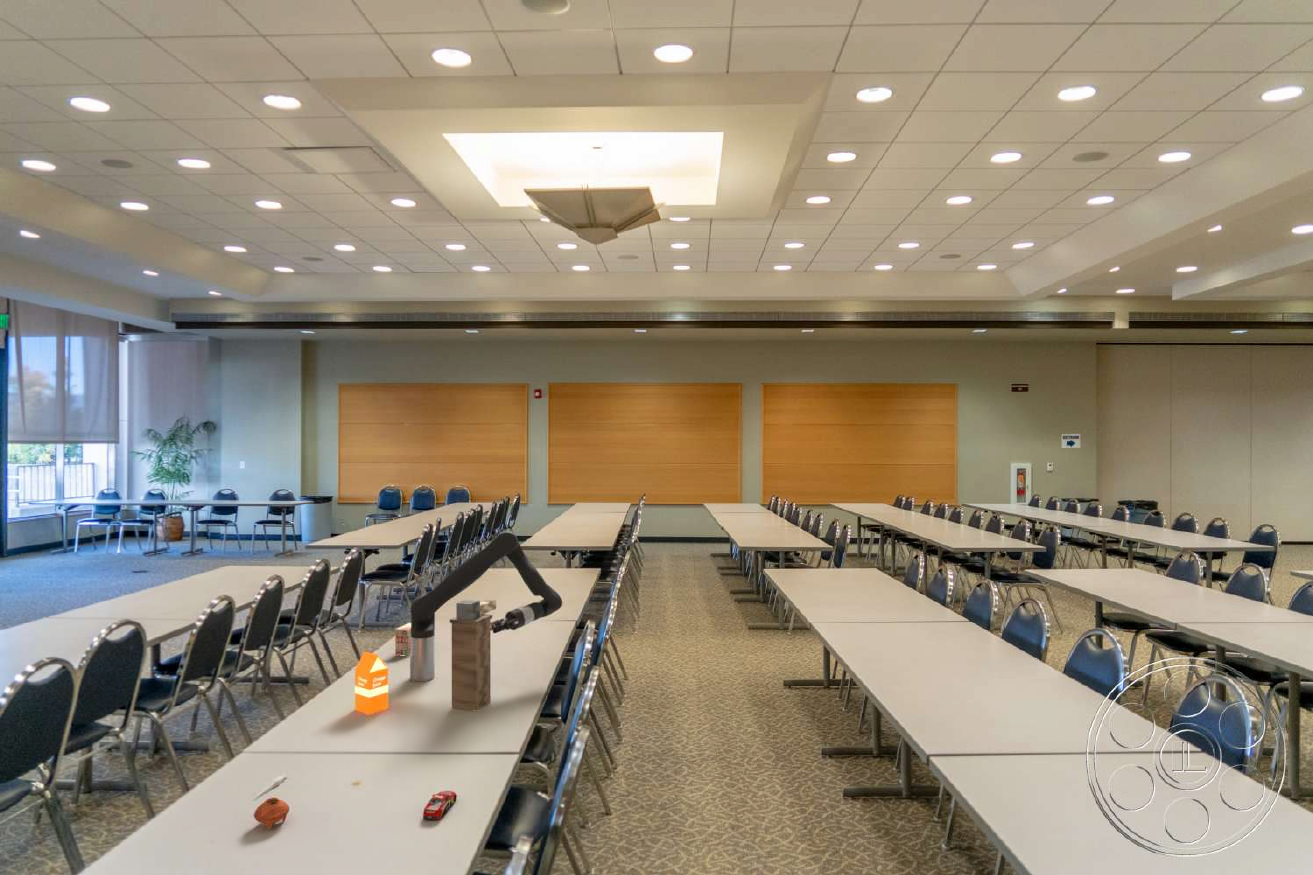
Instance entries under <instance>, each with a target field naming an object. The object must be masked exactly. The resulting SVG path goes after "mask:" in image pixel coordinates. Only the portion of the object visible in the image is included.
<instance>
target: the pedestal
mask: <svg viewBox="0 0 1313 875" xmlns="http://www.w3.org/2000/svg"><path fill="white" fill-rule="evenodd" d="M492 619H493V614H487V613H485V614H483V615H480V617H479V618H477V619H474V620H472V621H467V620H456V616H455V617H453V618H450V619H449V623H450V624H451V709H454V710H462V711H470V710H475V711H474V712H477V711H479V710H481V709H482V708H484V707H485V706H487V705H488V704H490V703H491V702H492V701H491V696H492V695H491V694H492V693H491V684H492V683H491V631H490V627H491V626H490V623H491V620H492ZM487 703H488V704H487ZM486 704H487V705H486ZM483 706H484V707H483Z"/></svg>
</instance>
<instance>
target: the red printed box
mask: <svg viewBox="0 0 1313 875" xmlns="http://www.w3.org/2000/svg"><path fill="white" fill-rule="evenodd" d="M394 639H395V650H394V651H395V655H405V656H404V657H407V656H408V657H410V656H411V655H410V654H411V622H407V623H406V624H403V625H402V626H399V627H397V628H395V638H394ZM409 655H410V656H409Z"/></svg>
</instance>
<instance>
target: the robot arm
mask: <svg viewBox="0 0 1313 875" xmlns="http://www.w3.org/2000/svg"><path fill="white" fill-rule="evenodd" d="M504 557H506V558H508V560H509V561H510V562H511V563H512V565H513V566H514V567H515V569H516V570H517V572H518V573H519V575H520V577H521V579H522V582H524V584H525V585H526V586H527V588H528V590H529V591H530V592H531V593H532V595H533V596H535V597H538V596H540V597H541V598H543V599H541V600H539V601H534V602H531V603H527V604H526V605H522V606H518V607H517V608H514V609H512V610H510V611H506V613H505V616H504V618H500V619H496V620H494V621H490V632H491V631H492V633H493V634H497V633H500V632H502V631H509V630H511V631H516V630H518V629H520V628H522V627H525V626H526V625H529V624H530V623H532V622H535V621H537V620H539V619H541V618H544V617H549V616H551V615H552V614H553V613H555V612H557V611H559V610H560V609H561V608H562V607H563V599H562V597H561V596H560V594H559V593H558V592H557V591H556V590H555V589H553V588H552V587H551V586H550V585H549V584H547V582H546V581H545V579H544V578H543V576H542V575H541V574H540V572H539V571H538V570H537V569H536V567H535V566H534V565H533V563H532V562H531V561H530V560H529V558H528V556H527V555H526V554H525V552H524V550H523V548H522V546H521V544H520V542H519V538H518V536H517V535H516V534H515V533H513V532H511V531H507V530H506V531H503V532H501V533H499V534H498V535H497V536H496V537H495V538H494V539H493V540H492V541H491V542H490V543H488V545H486V546H485V547H484V548H483V549H482V550H480V551H479V552H477V553H475V554H474V555H472V556H471V557H468V558H467V559H466V560H464V561H463V562H461V563H460V564H459V565H458V566H457V567H454V569H453V570H451V572H450V573H449V574H447V576H445V577H444V579H443V580H441V581H440V583H439V584H438V585H437V586H436V587H434V589H432V590H430V591H429V592H428V593H426V594H420V595H418V596H416V597H415V598H414V599H413V600H412V601H411V604H410V608H409V610H410V618H411V620H410V621H411V622H410V623H411V655H410V656H409V657H410V658H409V664H410V665H409V679H410V682H412V681H414V682H425V681H427V682H428V681H431V680H433V679H434V678H435V677H436V676H435V674H436V671H435V669H436V668H435V664H436V663H435V661H436V660H435V649H436V648H435V638H436V637H435V633H436V632H435V630H436V629H435V627H436V626H435V624H436V623H435V622H436V621H435V620H436V612H438V610H439V609H440V608H441V607H442V606H444V604H446V603H447V602H448V601H450V600H451V599H453V598H455V597H456V596H457V595H459V594H460V593H461V592H463V591H465V590H466V589H467V588H469V587H470V586H471V585H473V584H474V583H475V582H476V581H478V580H479V579H480V578H481V577H483V575H484V574H485V573H486V572H488V570H489V569H490V568H491V567H492V566H493V565H494V564H496V562H498V561H499V560H501V559H503V558H504Z"/></svg>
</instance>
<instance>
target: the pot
mask: <svg viewBox="0 0 1313 875" xmlns="http://www.w3.org/2000/svg"><path fill="white" fill-rule="evenodd" d="M289 811H290V806H289V804H288V803H287V802H286V801H284V800H282V799H279V798H278V797H270V798H267V799H266V800H264V801H263V802H262V803H261V804H260V805H258V807H257V808H256V809H255V810H254V813H253V818H254V819H255V820H256V821H257V822H258V823H260V824H263V825H265V826H266V829H267V830H271V829H272V826H273V824H276V823H278V822H280V821H281V820H282V821H283V822H285V821H286V818H287V815H288V813H289Z"/></svg>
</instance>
